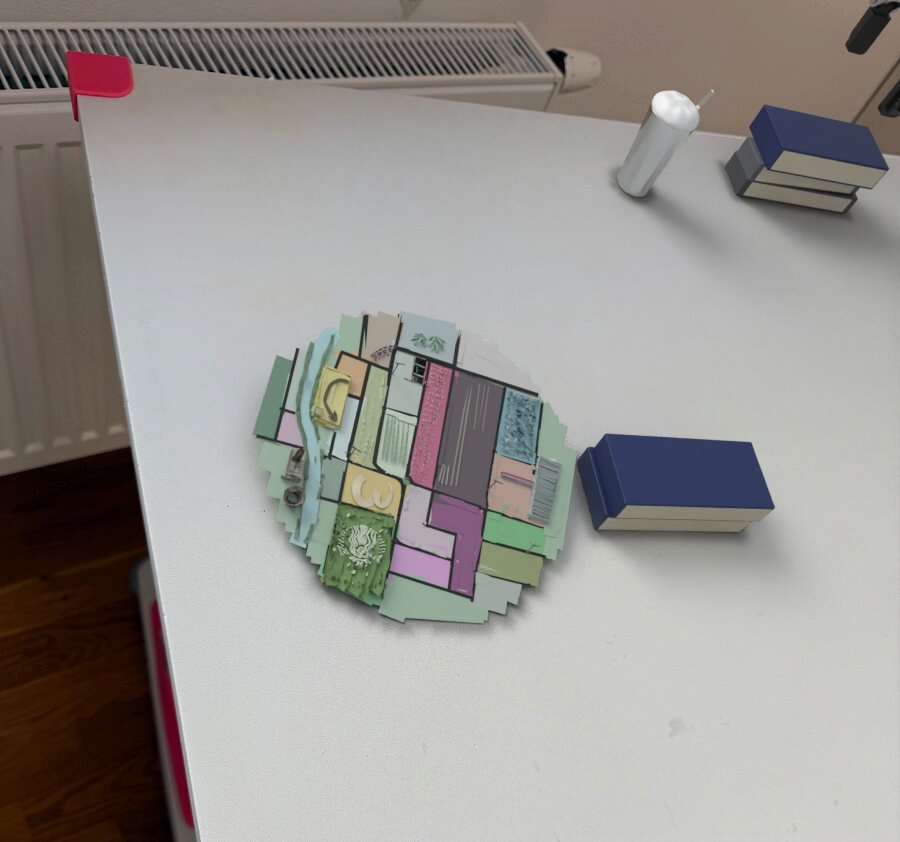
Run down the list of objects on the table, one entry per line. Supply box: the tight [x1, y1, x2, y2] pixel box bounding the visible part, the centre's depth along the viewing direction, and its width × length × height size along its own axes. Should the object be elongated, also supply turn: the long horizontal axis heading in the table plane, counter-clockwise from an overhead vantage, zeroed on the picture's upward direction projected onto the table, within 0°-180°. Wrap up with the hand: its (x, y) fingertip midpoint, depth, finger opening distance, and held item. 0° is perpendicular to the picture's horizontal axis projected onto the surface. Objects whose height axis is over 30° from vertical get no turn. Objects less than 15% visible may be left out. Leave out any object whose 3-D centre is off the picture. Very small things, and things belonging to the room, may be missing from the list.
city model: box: [242, 310, 578, 624], centre depth 66 cm, size 25×23×6 cm
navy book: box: [748, 103, 890, 190], centre depth 96 cm, size 13×6×3 cm, turn 101°
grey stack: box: [724, 136, 861, 214], centre depth 98 cm, size 14×4×4 cm, turn 101°
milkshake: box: [616, 89, 715, 198], centre depth 88 cm, size 4×5×10 cm
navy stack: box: [576, 433, 776, 533], centre depth 73 cm, size 13×6×4 cm, turn 101°
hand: (869, 81), depth 89 cm, fingers open, 8 cm apart
